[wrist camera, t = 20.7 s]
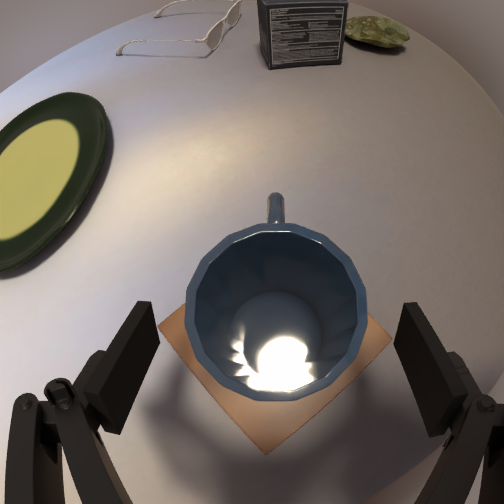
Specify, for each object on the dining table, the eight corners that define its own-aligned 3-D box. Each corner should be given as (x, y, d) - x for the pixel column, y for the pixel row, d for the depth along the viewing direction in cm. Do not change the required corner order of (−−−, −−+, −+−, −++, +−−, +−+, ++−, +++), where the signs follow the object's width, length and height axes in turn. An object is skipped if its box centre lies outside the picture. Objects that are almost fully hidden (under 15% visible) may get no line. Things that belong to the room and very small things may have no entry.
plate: (8, 119, 41) (1, 111, 38) (141, 89, 38) (136, 76, 36) (-52, 270, 31) (-63, 264, 28) (78, 291, 28) (65, 284, 26)
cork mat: (389, 339, 25) (392, 338, 24) (265, 452, 22) (265, 455, 22) (280, 227, 29) (280, 223, 29) (159, 327, 27) (156, 326, 26)
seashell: (342, 10, 42) (387, -11, 33) (369, 37, 46) (413, 21, 37) (331, 42, 41) (382, 20, 32) (360, 71, 44) (411, 56, 36)
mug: (326, 386, 23) (369, 397, 12) (222, 386, 24) (180, 396, 13) (322, 252, 28) (352, 171, 16) (227, 252, 28) (198, 171, 17)
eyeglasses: (209, 59, 40) (204, 37, 36) (112, 58, 43) (104, 41, 39) (244, 15, 45) (242, -4, 41) (157, 15, 48) (152, -1, 44)
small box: (327, 41, 40) (332, -16, 31) (342, 64, 38) (352, 2, 28) (259, 47, 40) (254, -13, 31) (268, 70, 38) (265, 4, 28)
